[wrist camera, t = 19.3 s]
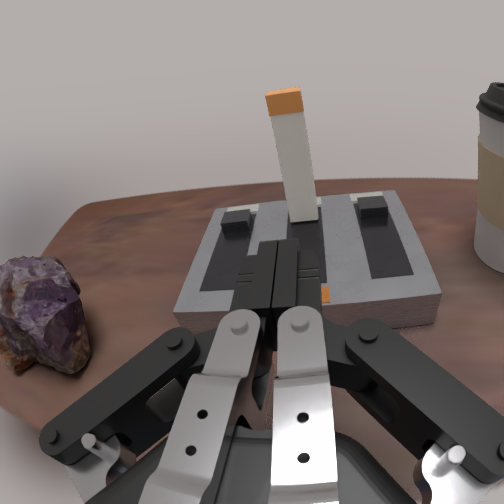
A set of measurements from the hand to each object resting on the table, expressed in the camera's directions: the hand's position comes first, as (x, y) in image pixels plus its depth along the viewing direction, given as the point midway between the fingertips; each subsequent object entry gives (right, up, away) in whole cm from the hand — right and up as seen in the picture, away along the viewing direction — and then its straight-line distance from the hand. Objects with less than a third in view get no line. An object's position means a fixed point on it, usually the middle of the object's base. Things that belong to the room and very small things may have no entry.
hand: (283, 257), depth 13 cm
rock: (-19, -9, +13) cm, 25 cm away
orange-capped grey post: (+3, +3, +15) cm, 16 cm away
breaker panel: (+4, -1, +14) cm, 15 cm away
